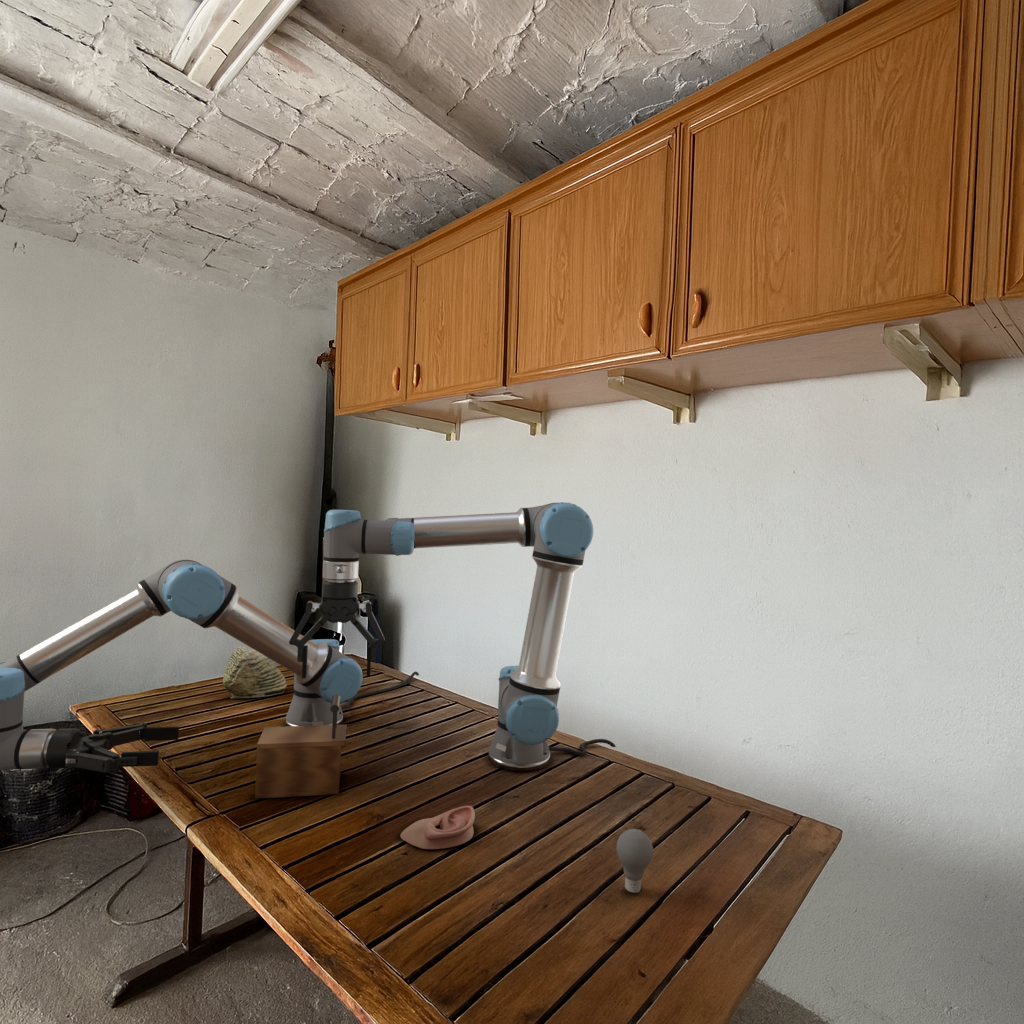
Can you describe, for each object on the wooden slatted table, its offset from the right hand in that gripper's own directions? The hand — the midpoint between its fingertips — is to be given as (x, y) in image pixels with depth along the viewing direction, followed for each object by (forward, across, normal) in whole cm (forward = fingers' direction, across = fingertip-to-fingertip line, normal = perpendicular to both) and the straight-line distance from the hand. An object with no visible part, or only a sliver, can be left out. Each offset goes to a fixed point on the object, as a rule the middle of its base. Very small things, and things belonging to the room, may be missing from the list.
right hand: (336, 676), depth 139 cm
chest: (+24, -7, 0) cm, 25 cm away
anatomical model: (+24, +21, -24) cm, 40 cm away
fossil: (+24, -27, +66) cm, 75 cm away
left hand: (+14, -33, 0) cm, 36 cm away
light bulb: (+24, +51, -47) cm, 73 cm away
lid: (+14, -6, 0) cm, 15 cm away
